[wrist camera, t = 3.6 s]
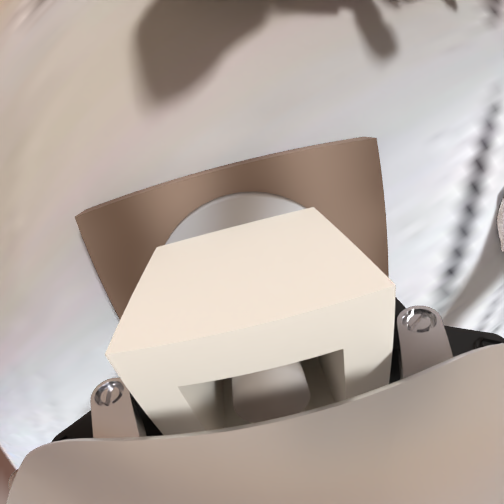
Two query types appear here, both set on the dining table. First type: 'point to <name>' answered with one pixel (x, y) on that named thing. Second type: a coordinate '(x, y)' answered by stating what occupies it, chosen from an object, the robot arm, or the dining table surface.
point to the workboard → (237, 213)
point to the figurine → (501, 224)
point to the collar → (253, 320)
